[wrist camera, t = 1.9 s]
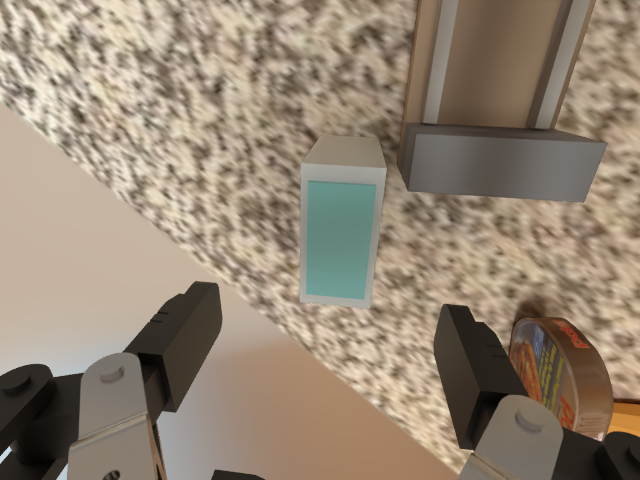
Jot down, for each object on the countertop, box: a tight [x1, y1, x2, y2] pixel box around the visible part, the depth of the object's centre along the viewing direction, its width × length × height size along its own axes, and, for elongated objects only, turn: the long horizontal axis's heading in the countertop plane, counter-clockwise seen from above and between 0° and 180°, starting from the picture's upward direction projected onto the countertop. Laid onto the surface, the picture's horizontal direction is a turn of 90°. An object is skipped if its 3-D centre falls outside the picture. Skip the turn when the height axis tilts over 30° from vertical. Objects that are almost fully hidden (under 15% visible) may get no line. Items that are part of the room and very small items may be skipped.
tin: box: [509, 317, 614, 442], centre depth 26 cm, size 15×3×8 cm, turn 7°
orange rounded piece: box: [607, 402, 640, 437], centre depth 31 cm, size 20×4×4 cm, turn 89°
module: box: [300, 135, 387, 309], centre depth 21 cm, size 4×8×9 cm, turn 178°
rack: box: [397, 0, 608, 203], centre depth 17 cm, size 9×16×6 cm, turn 178°
